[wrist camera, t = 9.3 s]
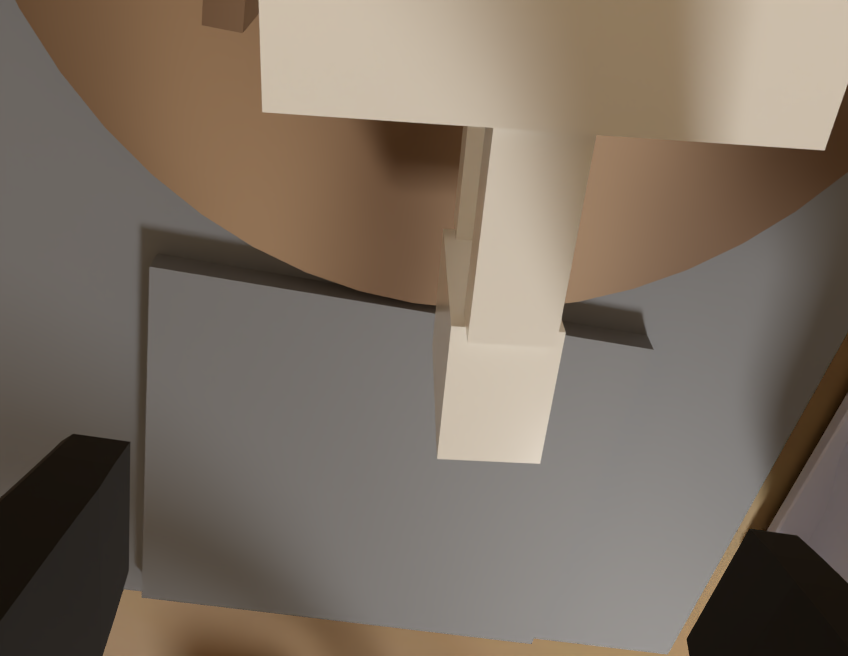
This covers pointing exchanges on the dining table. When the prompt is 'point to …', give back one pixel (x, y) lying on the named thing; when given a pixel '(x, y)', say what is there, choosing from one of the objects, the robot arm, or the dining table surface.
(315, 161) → the turntable
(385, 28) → the beige upright block
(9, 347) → the board
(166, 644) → the dining table surface
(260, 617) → the dining table surface
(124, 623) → the dining table surface
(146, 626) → the dining table surface
